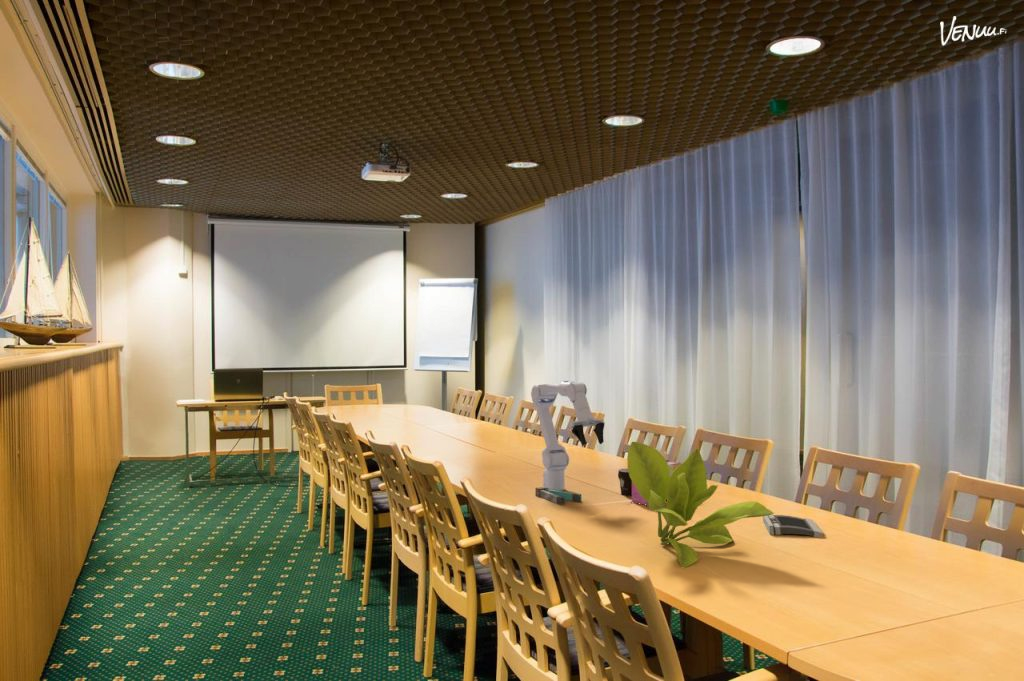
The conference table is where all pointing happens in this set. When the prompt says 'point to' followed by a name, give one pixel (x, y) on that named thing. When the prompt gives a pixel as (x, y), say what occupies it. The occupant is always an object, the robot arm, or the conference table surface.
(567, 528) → the conference table surface
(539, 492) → the tongs base
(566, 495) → the bar
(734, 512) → the artificial plant
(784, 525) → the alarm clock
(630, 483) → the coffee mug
